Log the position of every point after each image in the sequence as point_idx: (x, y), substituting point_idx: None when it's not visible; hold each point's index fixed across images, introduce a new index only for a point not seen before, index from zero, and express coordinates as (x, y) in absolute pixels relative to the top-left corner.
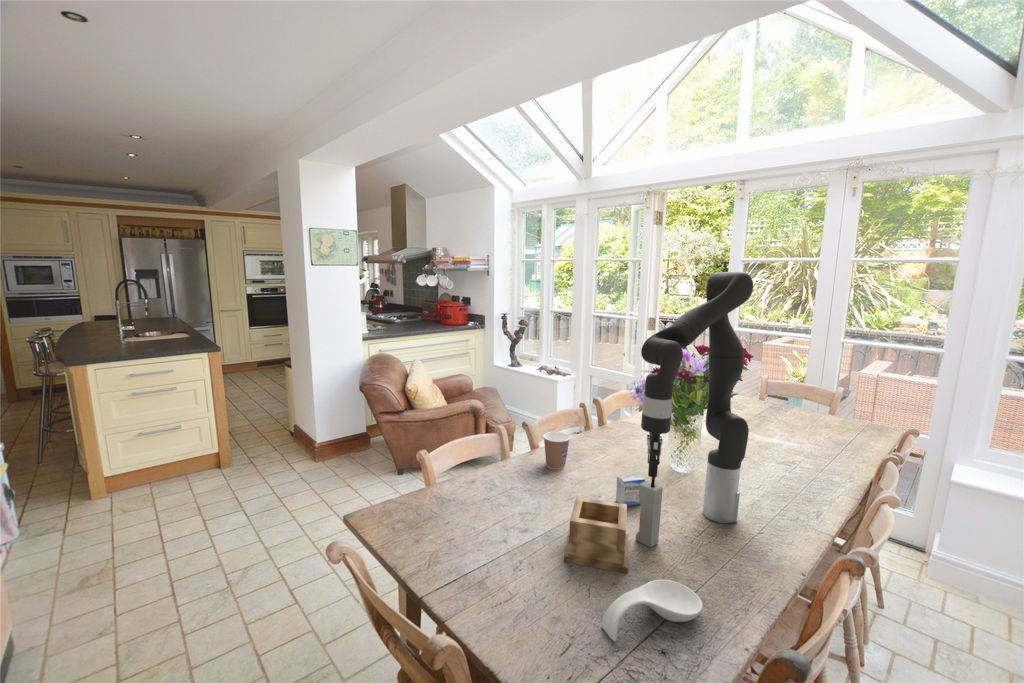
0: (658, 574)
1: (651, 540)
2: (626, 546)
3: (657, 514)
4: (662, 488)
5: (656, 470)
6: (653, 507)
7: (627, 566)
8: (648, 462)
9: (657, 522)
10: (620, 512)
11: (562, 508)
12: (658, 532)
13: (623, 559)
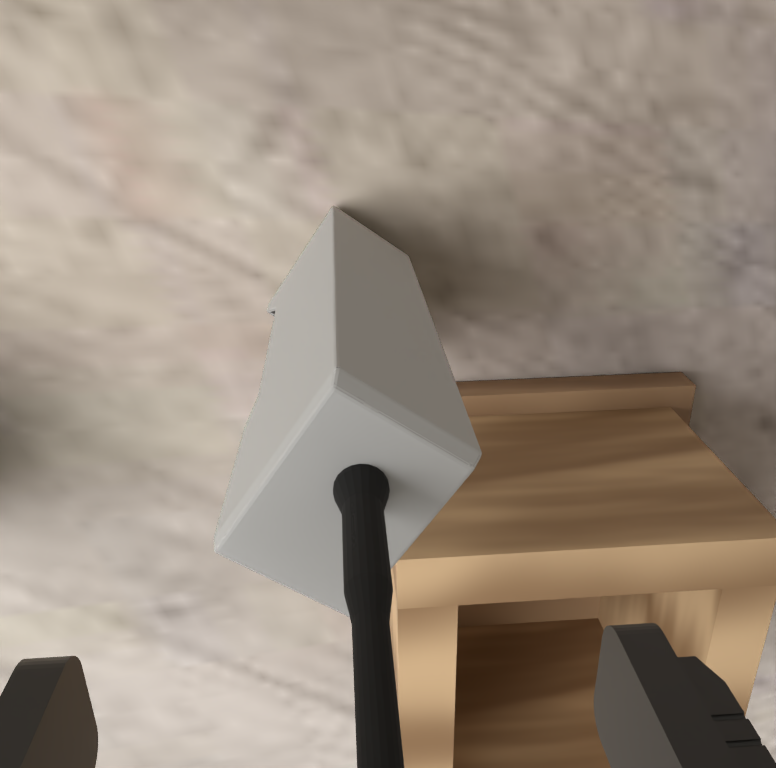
0: (663, 206)
1: (409, 266)
2: (492, 404)
3: (379, 296)
4: (334, 368)
5: (703, 727)
6: (449, 372)
7: (683, 387)
8: (91, 755)
9: (366, 266)
10: (545, 590)
11: (169, 727)
12: (340, 227)
13: (683, 423)
